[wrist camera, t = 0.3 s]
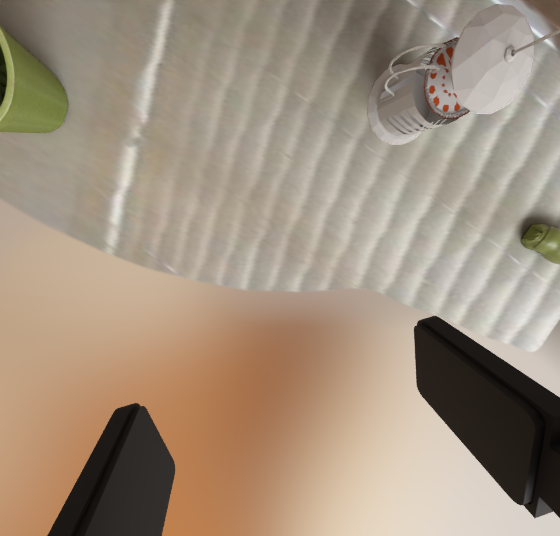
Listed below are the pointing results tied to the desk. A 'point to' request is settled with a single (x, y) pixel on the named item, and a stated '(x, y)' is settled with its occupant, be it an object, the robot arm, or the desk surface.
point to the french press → (455, 77)
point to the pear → (544, 241)
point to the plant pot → (28, 91)
